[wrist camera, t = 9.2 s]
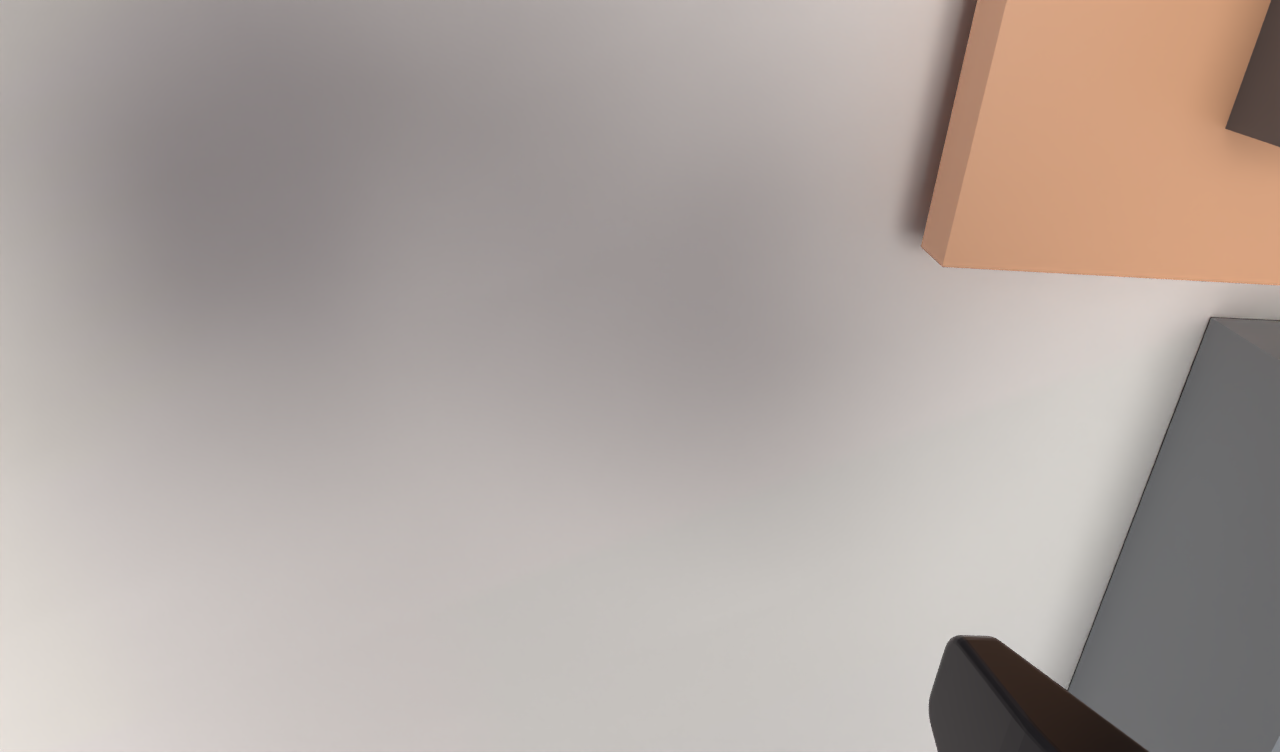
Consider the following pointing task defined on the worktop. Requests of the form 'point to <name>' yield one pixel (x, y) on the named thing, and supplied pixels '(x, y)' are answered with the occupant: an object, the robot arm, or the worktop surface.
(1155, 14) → the lid
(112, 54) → the worktop surface
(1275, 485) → the storage box
